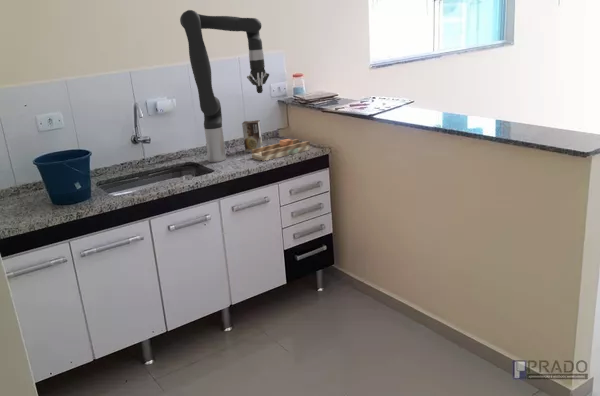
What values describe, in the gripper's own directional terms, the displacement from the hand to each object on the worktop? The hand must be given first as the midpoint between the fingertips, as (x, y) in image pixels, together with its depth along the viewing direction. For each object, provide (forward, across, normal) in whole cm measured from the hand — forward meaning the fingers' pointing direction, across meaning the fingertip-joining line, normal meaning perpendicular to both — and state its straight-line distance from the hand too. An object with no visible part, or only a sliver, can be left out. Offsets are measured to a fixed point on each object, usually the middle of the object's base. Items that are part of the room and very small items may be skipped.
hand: (259, 92), depth 288 cm
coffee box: (+32, -1, +10) cm, 34 cm away
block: (+30, +7, -10) cm, 32 cm away
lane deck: (+32, +4, -10) cm, 34 cm away
